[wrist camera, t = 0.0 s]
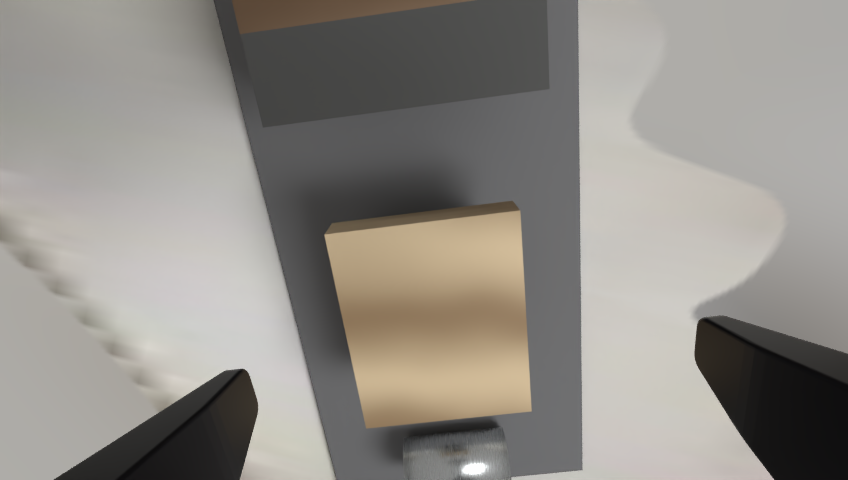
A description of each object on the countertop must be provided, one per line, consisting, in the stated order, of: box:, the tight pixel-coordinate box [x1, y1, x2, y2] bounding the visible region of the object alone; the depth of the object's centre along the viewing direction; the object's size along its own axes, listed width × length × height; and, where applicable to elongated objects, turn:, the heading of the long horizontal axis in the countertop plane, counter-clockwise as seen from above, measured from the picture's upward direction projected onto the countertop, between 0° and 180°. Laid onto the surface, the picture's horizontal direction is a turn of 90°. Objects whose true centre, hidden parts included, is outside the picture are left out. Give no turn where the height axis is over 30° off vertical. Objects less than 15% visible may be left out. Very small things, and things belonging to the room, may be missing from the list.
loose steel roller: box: [403, 427, 511, 480], centre depth 26 cm, size 3×6×3 cm, turn 97°
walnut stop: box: [232, 0, 550, 128], centre depth 17 cm, size 6×10×6 cm, turn 97°
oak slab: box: [324, 201, 532, 429], centre depth 20 cm, size 10×8×2 cm
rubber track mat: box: [214, 0, 582, 480], centre depth 24 cm, size 30×16×1 cm, turn 7°
